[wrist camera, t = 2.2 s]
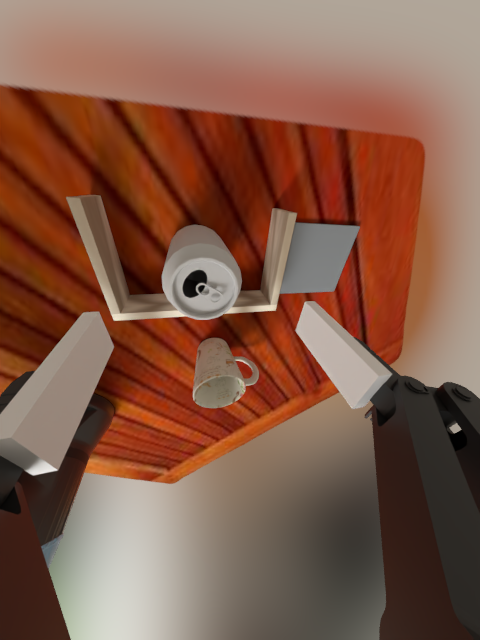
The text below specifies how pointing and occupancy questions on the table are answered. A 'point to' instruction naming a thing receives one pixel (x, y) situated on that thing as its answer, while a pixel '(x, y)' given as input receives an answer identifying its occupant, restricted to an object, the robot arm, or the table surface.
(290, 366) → the table surface
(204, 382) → the mug
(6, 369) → the table surface
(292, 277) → the mat
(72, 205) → the u-shaped shelf bracket
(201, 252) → the can
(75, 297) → the table surface
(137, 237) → the table surface
